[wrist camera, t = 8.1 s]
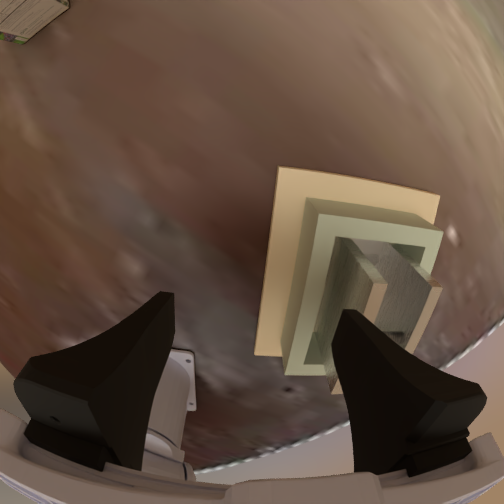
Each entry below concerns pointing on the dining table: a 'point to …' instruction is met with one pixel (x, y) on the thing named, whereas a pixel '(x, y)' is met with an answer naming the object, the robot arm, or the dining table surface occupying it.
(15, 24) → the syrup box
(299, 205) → the well
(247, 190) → the dining table surface
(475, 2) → the dining table surface
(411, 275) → the bracket
